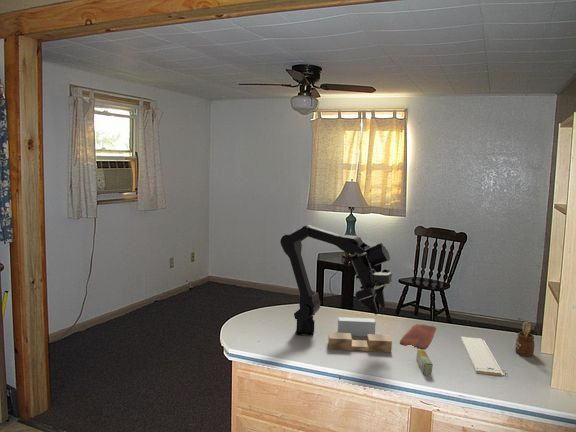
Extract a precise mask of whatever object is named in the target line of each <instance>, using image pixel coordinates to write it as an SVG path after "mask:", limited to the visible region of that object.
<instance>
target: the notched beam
mask: <svg viewBox="0 0 576 432" xmlns="http://www.w3.org/2000/svg"><path fill="white" fill-rule="evenodd" d="M352 337H353V336H351V333H338V332H335V331H334V332H333V331H331V332H330V331H329V332H328V339H327V340H328V350H336V351H337V350H341V351H356V350H362V351H361V352H376V351H382V352H381V353H392V350H393V349H392V348H393V347H392V346H393V341H392V338H391V335H389V334H376V333H375V334H367V337H366V340H364V339H362V340H361V339H353V338H352Z"/></svg>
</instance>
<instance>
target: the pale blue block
mask: <svg viewBox="0 0 576 432" xmlns="http://www.w3.org/2000/svg"><path fill="white" fill-rule="evenodd" d="M376 325H377V323H376V320H375V318H365V317H364V318H362V317H345V316H344V317H341V316H338V318H337V333H351V337H364V336H367V334H376Z"/></svg>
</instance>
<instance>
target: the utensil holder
mask: <svg viewBox="0 0 576 432" xmlns="http://www.w3.org/2000/svg"><path fill="white" fill-rule="evenodd" d="M531 326H532V324H530V323H529V322H528V321H525V322H523V323H522V331H519V332H518V333H517V338H516V341H515V347H514V348H515V349H514V350H515V353H516V354H517V355H519V356H523V357H533V355H534V352H535V340H534V339H535V336H534V334H532V333H531V328H532V327H531Z"/></svg>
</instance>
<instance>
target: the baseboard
mask: <svg viewBox="0 0 576 432" xmlns="http://www.w3.org/2000/svg"><path fill="white" fill-rule="evenodd" d="M460 340H461V343H462V345H463V347H464V350H465V352H466V354H467V356H468V358H469V360H470V362H471V365H472V367H473V369H474V372H475V373H476V374H481V375H491V376H501V377H504V376H507V372H505V374H504V371H503V370H502V368H501V367H500V365H499V364H498V362H497V360H496V358H495V356H494V354H493V353H492V351H491V349H490V348H489V346H488V345H487V343H486V341H485V339H482V338H480V337H479V338H478V337H468V336H460Z"/></svg>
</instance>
